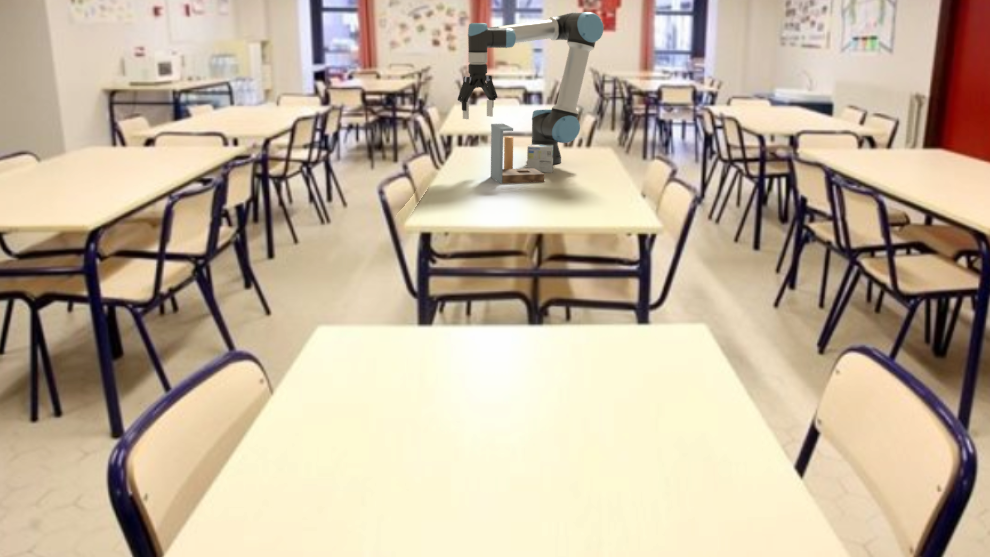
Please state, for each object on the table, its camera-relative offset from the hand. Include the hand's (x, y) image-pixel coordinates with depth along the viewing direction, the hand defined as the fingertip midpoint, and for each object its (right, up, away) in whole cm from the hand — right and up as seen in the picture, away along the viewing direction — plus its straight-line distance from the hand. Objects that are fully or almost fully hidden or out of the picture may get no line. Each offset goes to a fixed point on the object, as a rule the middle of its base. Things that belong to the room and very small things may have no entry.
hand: (477, 117), depth 337 cm
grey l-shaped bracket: (+9, -26, -10) cm, 30 cm away
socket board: (+16, -26, -8) cm, 32 cm away
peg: (+12, -23, +3) cm, 26 cm away
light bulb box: (+26, -20, +11) cm, 35 cm away
